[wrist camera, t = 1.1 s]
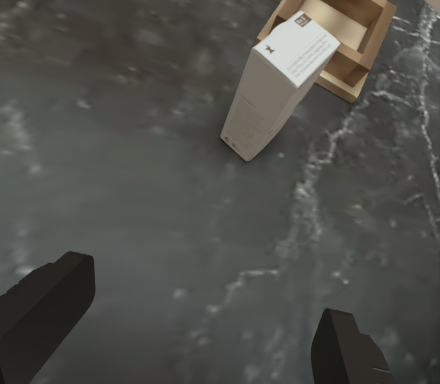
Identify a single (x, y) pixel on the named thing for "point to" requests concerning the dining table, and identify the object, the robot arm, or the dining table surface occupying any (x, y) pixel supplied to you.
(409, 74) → the dining table surface
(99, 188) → the dining table surface
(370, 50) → the socket board
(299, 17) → the skincare box
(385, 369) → the robot arm
